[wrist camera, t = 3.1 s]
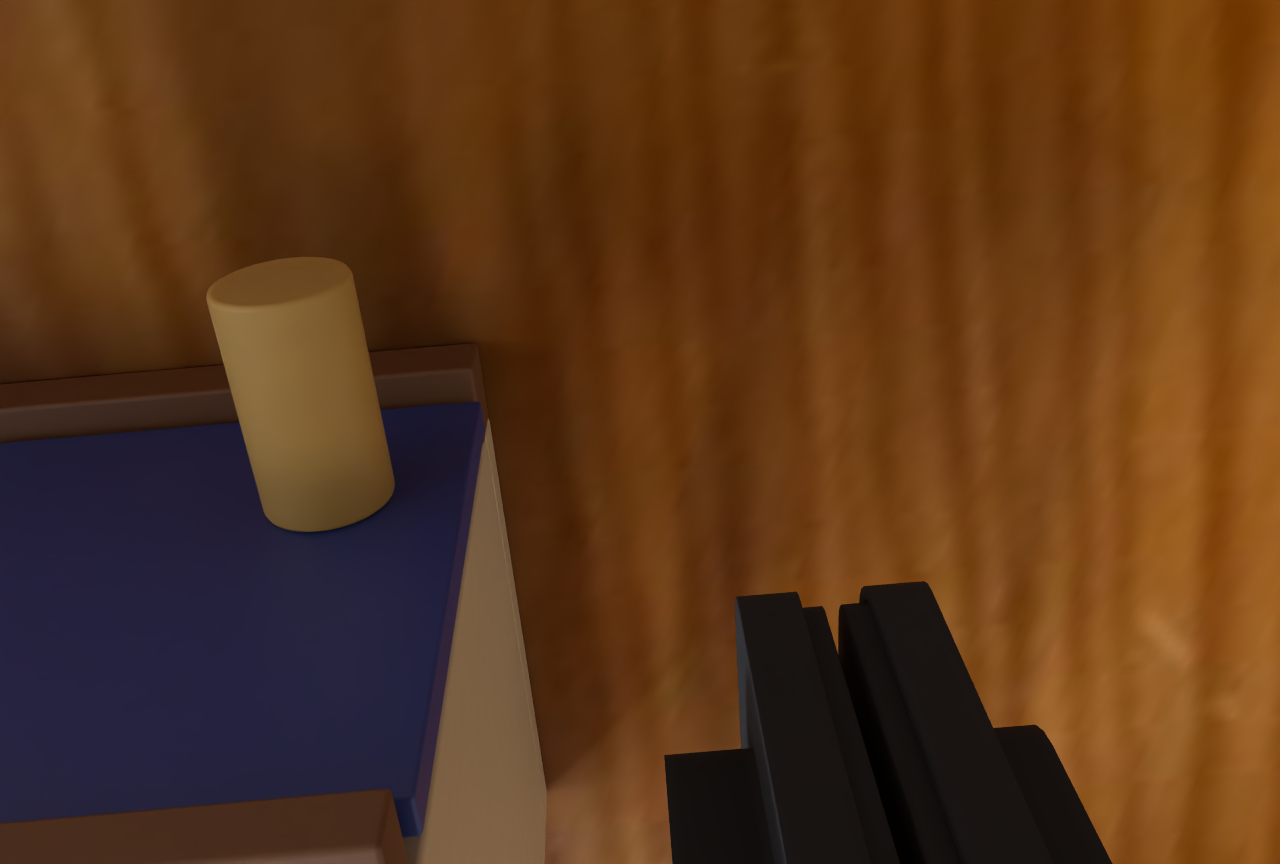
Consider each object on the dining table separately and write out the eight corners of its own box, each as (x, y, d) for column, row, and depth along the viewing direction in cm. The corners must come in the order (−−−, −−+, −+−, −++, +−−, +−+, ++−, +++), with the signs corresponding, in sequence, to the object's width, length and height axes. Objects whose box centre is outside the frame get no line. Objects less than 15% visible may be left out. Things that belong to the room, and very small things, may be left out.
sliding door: (-116, 252, 19) (-670, 598, 10) (450, 203, 19) (348, 509, 10) (-25, 474, 21) (-430, 914, 12) (485, 429, 21) (423, 838, 12)
